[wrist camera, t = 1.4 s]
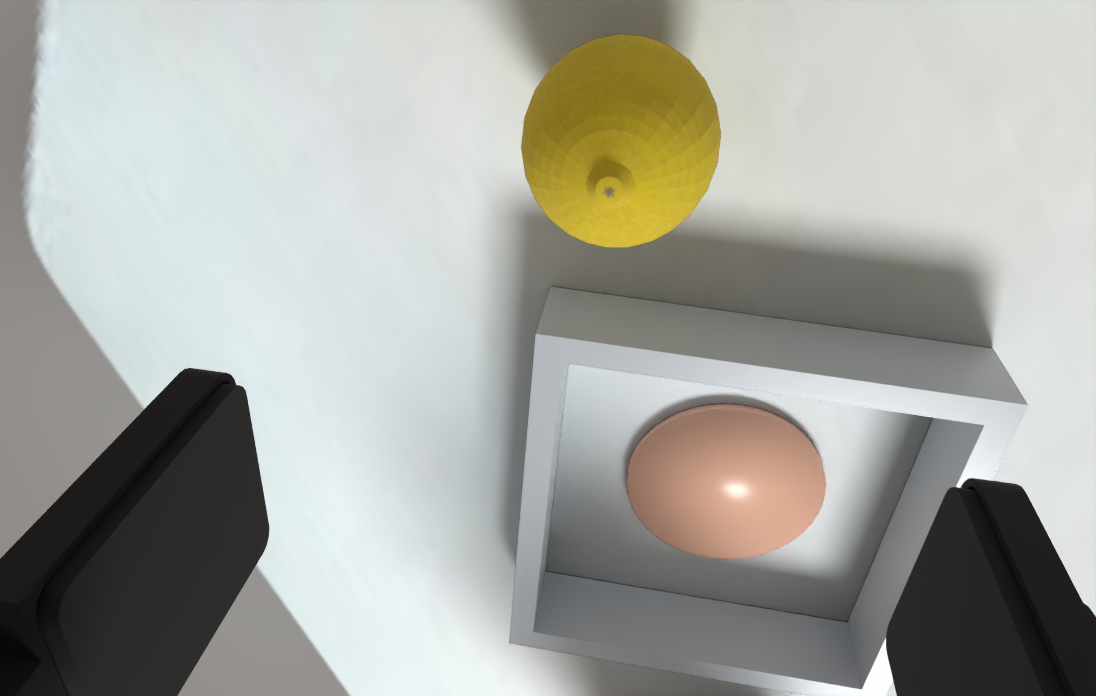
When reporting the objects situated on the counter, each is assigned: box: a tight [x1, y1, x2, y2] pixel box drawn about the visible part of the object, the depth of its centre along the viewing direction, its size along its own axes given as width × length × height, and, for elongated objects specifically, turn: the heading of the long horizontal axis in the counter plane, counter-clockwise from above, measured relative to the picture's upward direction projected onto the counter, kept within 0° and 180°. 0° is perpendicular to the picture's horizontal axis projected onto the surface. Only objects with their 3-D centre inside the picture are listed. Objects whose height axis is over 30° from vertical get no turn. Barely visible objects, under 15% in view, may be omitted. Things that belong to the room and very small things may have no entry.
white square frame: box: [509, 286, 1028, 696], centre depth 32 cm, size 16×16×4 cm
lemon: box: [521, 34, 721, 247], centre depth 23 cm, size 6×6×8 cm
